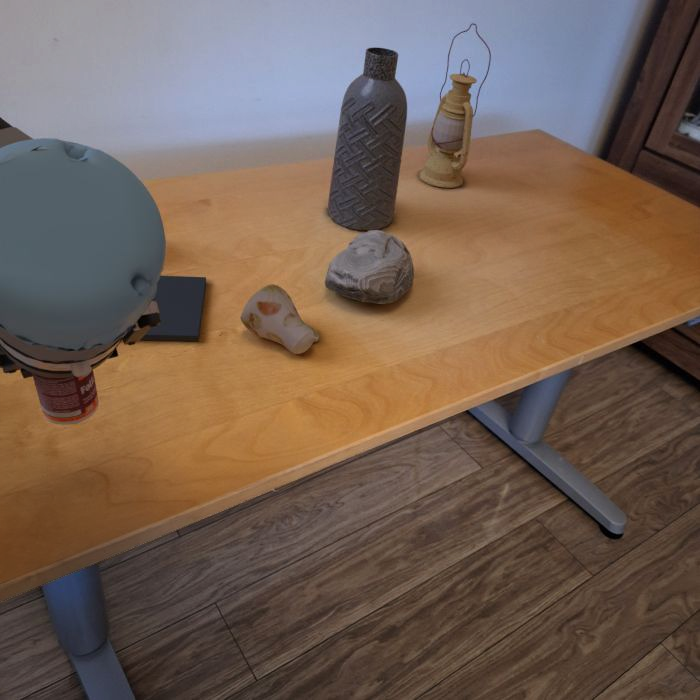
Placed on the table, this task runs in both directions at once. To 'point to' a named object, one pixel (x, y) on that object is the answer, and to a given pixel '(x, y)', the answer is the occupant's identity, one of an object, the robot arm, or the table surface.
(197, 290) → the mat
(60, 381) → the pill bottle
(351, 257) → the decorative stone
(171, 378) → the table surface
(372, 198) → the vase
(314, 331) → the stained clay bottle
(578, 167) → the table surface
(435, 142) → the lantern
